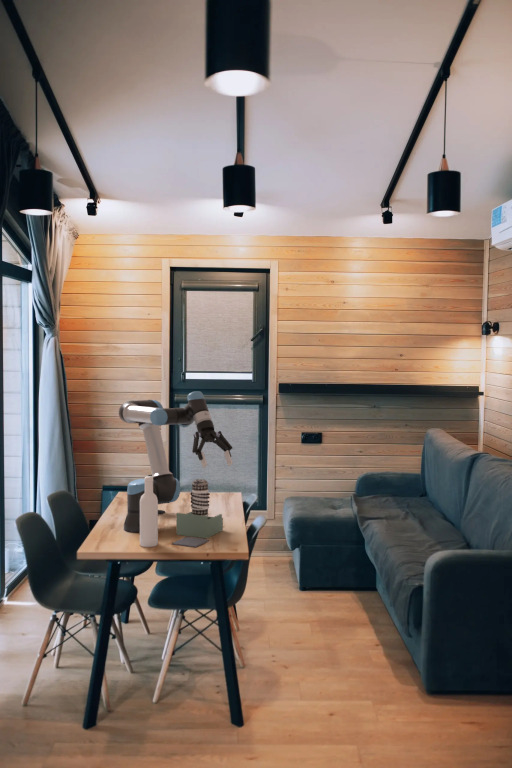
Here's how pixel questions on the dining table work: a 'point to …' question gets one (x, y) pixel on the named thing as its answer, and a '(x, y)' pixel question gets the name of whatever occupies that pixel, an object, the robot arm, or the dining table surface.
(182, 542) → the mat
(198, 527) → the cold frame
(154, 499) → the bottle
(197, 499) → the decorative candle
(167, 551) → the dining table surface
